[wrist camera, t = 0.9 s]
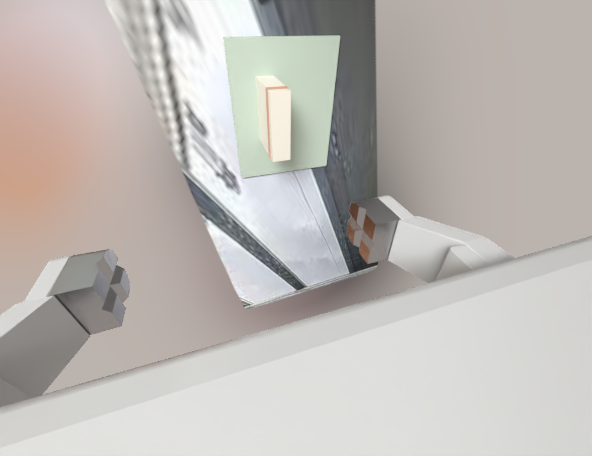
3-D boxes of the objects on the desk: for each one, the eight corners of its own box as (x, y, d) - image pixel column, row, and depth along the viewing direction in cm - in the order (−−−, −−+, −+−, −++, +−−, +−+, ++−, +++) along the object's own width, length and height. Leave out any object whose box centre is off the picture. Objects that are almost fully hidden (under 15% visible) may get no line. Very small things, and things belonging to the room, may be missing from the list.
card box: (255, 76, 37) (269, 91, 31) (274, 75, 38) (291, 90, 32) (259, 139, 43) (272, 162, 37) (275, 138, 44) (290, 160, 38)
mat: (223, 36, 33) (223, 37, 33) (339, 35, 37) (340, 35, 37) (241, 176, 46) (241, 178, 46) (325, 164, 51) (326, 165, 50)
